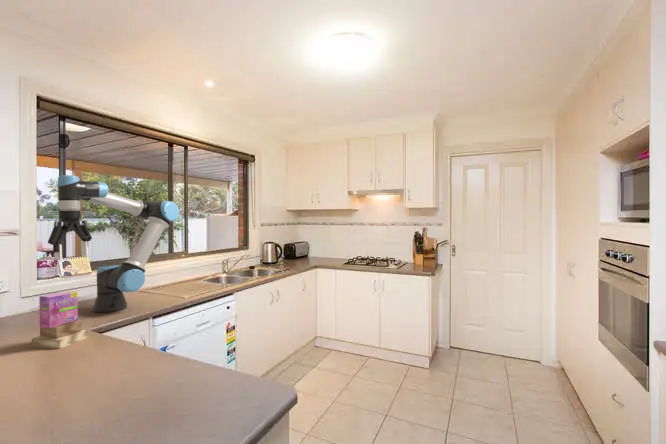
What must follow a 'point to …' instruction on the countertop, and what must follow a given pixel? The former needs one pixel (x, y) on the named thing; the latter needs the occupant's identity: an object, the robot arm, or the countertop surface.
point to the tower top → (61, 330)
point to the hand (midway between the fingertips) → (72, 257)
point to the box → (58, 308)
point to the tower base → (59, 340)
